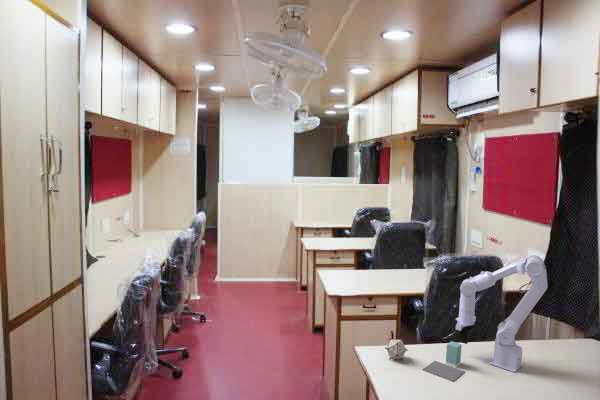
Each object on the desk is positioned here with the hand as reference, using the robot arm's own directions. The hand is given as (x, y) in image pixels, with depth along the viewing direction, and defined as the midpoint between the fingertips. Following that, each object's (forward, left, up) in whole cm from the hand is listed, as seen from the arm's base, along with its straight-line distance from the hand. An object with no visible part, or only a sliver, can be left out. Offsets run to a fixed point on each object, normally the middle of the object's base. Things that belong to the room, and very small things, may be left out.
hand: (464, 342), depth 182 cm
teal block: (0, +10, -6) cm, 11 cm away
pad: (0, +18, -6) cm, 19 cm away
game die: (+18, +22, -6) cm, 29 cm away
